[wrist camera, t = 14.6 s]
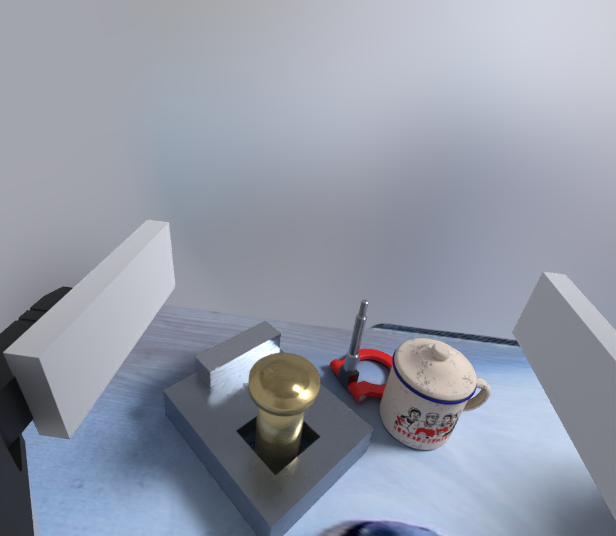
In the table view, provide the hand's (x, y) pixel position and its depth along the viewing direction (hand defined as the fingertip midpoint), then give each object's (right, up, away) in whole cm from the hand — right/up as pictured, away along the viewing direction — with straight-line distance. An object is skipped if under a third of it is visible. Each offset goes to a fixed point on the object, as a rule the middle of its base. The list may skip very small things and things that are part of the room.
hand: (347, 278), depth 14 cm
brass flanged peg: (-5, -20, +26) cm, 33 cm away
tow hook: (+7, -14, +37) cm, 41 cm away
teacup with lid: (+13, -18, +33) cm, 40 cm away
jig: (-6, -18, +29) cm, 34 cm away
